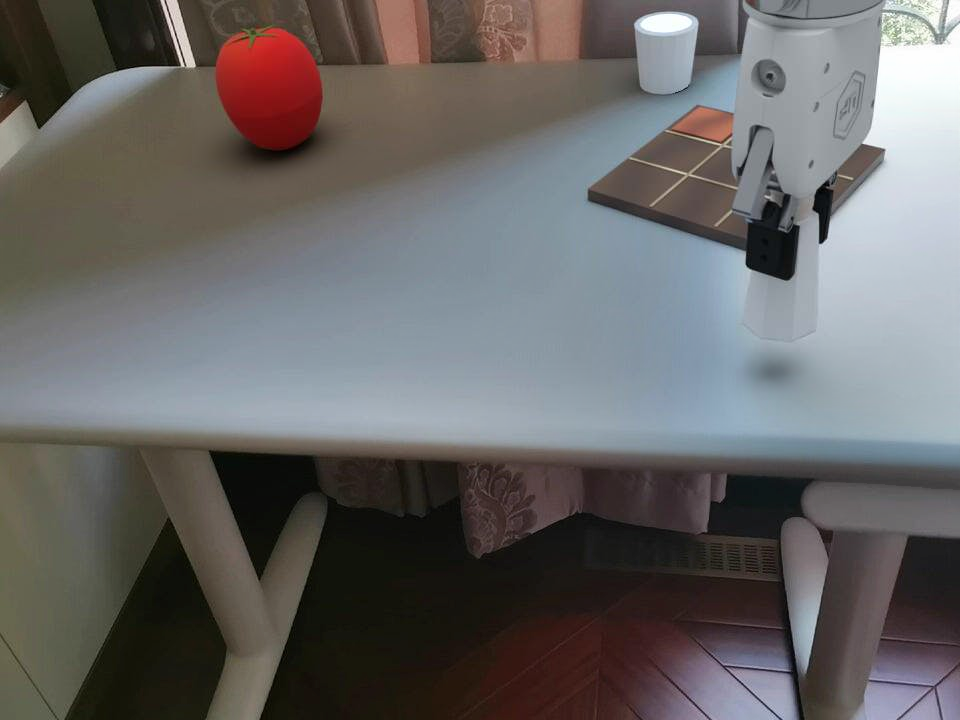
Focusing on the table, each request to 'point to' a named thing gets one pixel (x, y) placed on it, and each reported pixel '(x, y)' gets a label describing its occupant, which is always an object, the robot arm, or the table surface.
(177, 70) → the table surface
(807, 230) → the pepper shaker
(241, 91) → the tomato
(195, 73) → the table surface
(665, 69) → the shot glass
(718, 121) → the board
